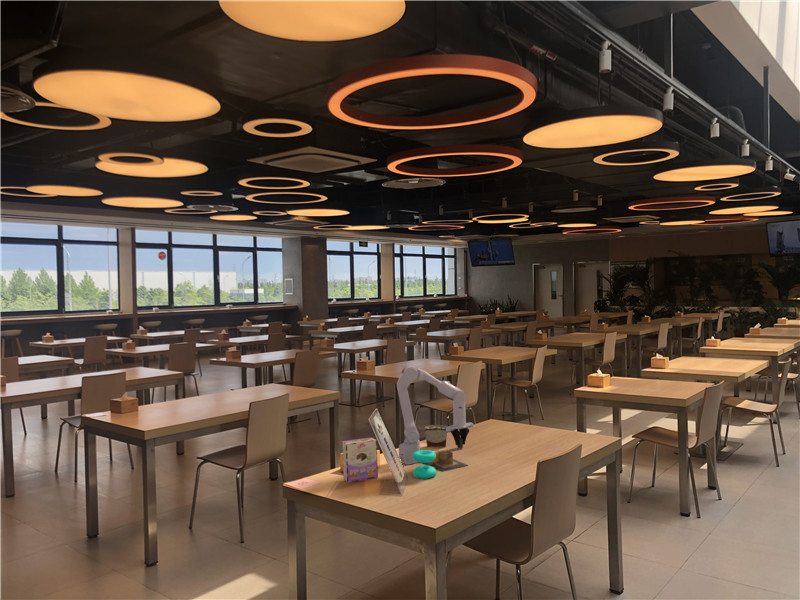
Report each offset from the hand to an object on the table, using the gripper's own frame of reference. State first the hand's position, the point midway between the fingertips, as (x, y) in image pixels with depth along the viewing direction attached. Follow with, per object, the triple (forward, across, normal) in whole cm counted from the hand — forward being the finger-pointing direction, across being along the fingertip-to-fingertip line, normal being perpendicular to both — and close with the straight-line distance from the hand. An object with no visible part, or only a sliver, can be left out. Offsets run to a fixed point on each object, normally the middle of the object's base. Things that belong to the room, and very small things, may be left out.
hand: (460, 444), depth 275 cm
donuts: (+7, -27, -11) cm, 30 cm away
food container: (+7, +4, +25) cm, 26 cm away
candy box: (+7, -51, +2) cm, 52 cm away
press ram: (+5, -7, 0) cm, 9 cm away
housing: (+6, -11, -4) cm, 13 cm away
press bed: (+6, -11, -2) cm, 13 cm away
